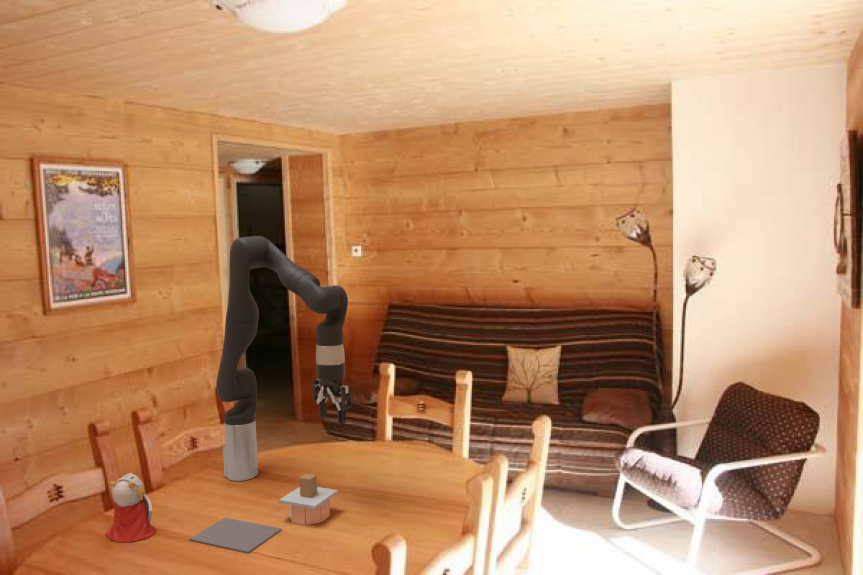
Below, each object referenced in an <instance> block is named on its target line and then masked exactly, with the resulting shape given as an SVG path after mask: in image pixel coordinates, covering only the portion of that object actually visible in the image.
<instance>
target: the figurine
mask: <svg viewBox="0 0 863 575" xmlns="http://www.w3.org/2000/svg"><path fill="white" fill-rule="evenodd" d="M109 483H110V485H111V487H112V488H111V496H112V499H113V501H114V503H115V504H114V510H113V523H112V525H111V527H109V529H108V530H107V531H106V532H105V535H106V536H107V537H108V539H110V540H111V541H113V542H117V543H134V542H139V541H142V540H147V539H149V537H151V536H152V535H153V534H155V533H156V530H157V528H156V527H155V526H153V525H152V524H151V520H152V519H151V518H152V516H153V515H152V511H153V506H152V505H153V504H152V502H151V499H150V498H149V496H148V495H147V494H146V493H145V492H147V490H145V485H144V483H143V481H142V480H141V479H140V478H139V476H137V475H136V474H134V473H133V472H129V473H127V474H124V475H123V476H121V477H120V478H118V479H117V480H116V481H113V480H112V481H110V482H109Z"/></svg>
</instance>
